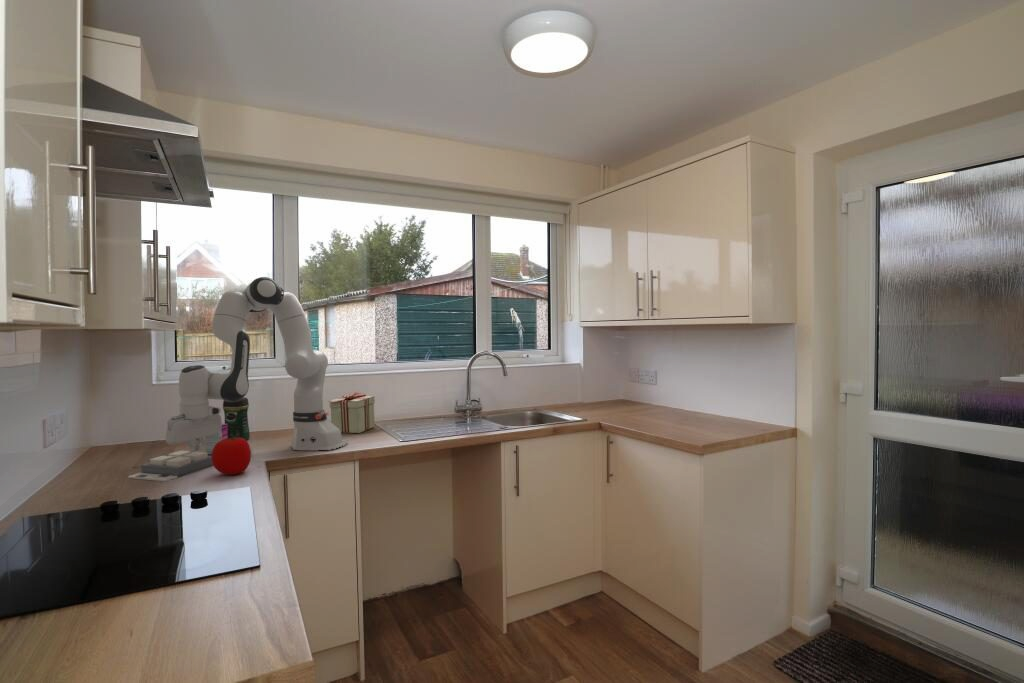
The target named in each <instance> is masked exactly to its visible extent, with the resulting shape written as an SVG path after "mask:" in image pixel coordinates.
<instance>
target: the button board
mask: <svg viewBox="0 0 1024 683" xmlns="http://www.w3.org/2000/svg"><path fill="white" fill-rule="evenodd" d="M210 467H214V465H213V463H212V456H208V458H205V459H201V460H198V461H191V463H189V464H186V465H182V466H179V467H175V466H166V464H164V465H152V464H150V462H147V463H146V462H145V463H143V464H141V465H140V472H137V473H135V474H132V475H128V476H127V478H128V479H135V480H148V481H154V482H155V481H157V482H168V481H171V480H175V479H176V478H180V477H183V476H186V475H190V474H193V473H195V472H198V471H201V470H204V469H208V468H210Z"/></svg>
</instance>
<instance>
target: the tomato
mask: <svg viewBox="0 0 1024 683" xmlns="http://www.w3.org/2000/svg"><path fill="white" fill-rule="evenodd" d="M243 438H244V437H240V438H238V437H234V436H232V438H227V439H224V440H221V441H219V442H218V443H217V444H216V445H215V446H214V449H213V451H212V463H213V467H214V468H215V470H216V471H218V472H219V473H221V474H223V475H227V476H229V475H230V476H231V475H233V476H234V475H239V474H242V473H243V472H245V471H246V470H247V469H248V468H249V466H250V462H251V458H252V451H251V447H250V444H249V442H248V440H245V439H243Z"/></svg>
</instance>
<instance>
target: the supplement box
mask: <svg viewBox="0 0 1024 683" xmlns="http://www.w3.org/2000/svg"><path fill="white" fill-rule="evenodd" d="M227 438H228V424H225V423H222V429H221V431H220V433H217V434H213V435H209V436H206V437H204V452H205V453H208V456H212V451H213V449H214V446H215V445H216V444H217V443H218V442H219V441H221V440H224V439H227Z"/></svg>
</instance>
